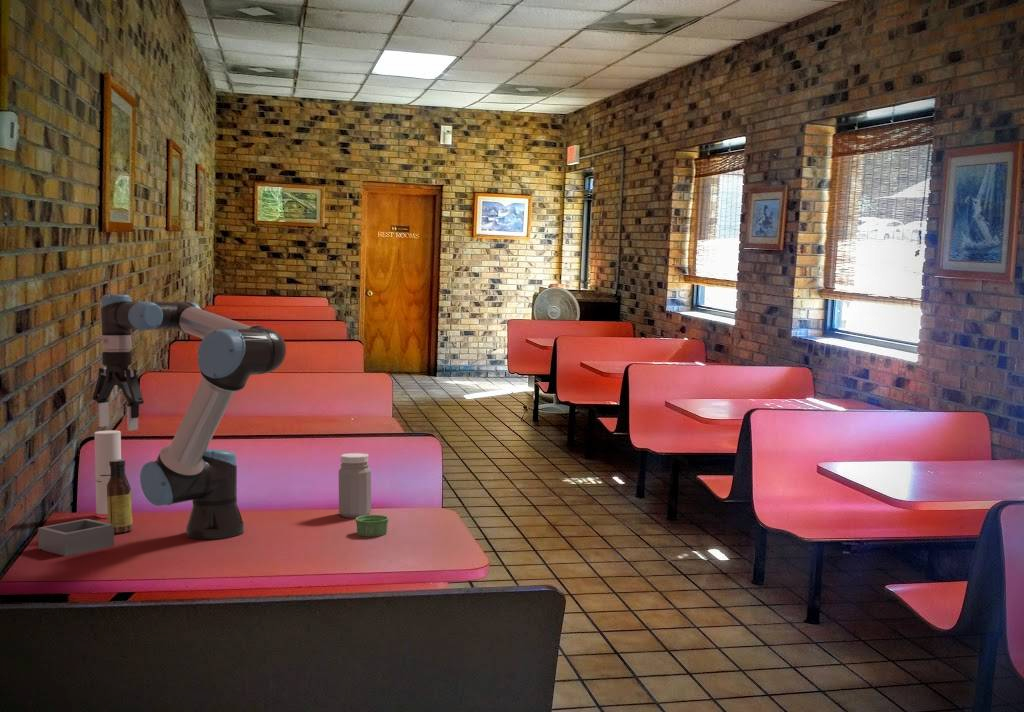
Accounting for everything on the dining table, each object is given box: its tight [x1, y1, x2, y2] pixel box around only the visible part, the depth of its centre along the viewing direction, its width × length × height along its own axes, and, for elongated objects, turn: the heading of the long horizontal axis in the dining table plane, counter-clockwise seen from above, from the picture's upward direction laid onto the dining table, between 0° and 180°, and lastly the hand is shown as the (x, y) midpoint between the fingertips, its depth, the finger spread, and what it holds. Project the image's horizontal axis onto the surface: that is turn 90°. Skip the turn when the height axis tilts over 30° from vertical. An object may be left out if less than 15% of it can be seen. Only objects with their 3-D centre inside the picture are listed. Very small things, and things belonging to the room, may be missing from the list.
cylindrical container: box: [94, 429, 122, 514], centre depth 292 cm, size 7×7×25 cm
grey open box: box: [37, 518, 115, 557], centre depth 255 cm, size 12×13×6 cm
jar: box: [338, 452, 372, 519], centre depth 294 cm, size 10×10×18 cm
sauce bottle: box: [107, 458, 134, 534], centre depth 272 cm, size 6×6×20 cm
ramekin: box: [355, 514, 389, 538], centre depth 271 cm, size 9×9×4 cm
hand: (118, 428), depth 271 cm, fingers open, 13 cm apart
